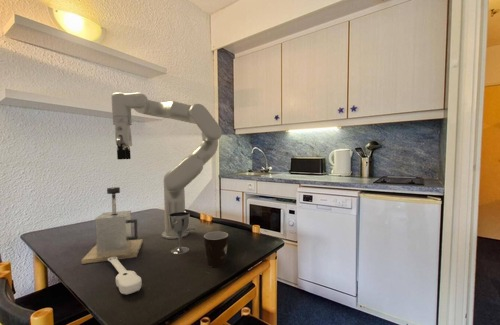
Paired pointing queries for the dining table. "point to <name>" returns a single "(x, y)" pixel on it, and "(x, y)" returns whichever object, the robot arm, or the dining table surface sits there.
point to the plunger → (113, 197)
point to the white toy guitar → (125, 278)
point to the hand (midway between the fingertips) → (124, 159)
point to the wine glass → (179, 228)
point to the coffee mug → (216, 248)
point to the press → (114, 238)
